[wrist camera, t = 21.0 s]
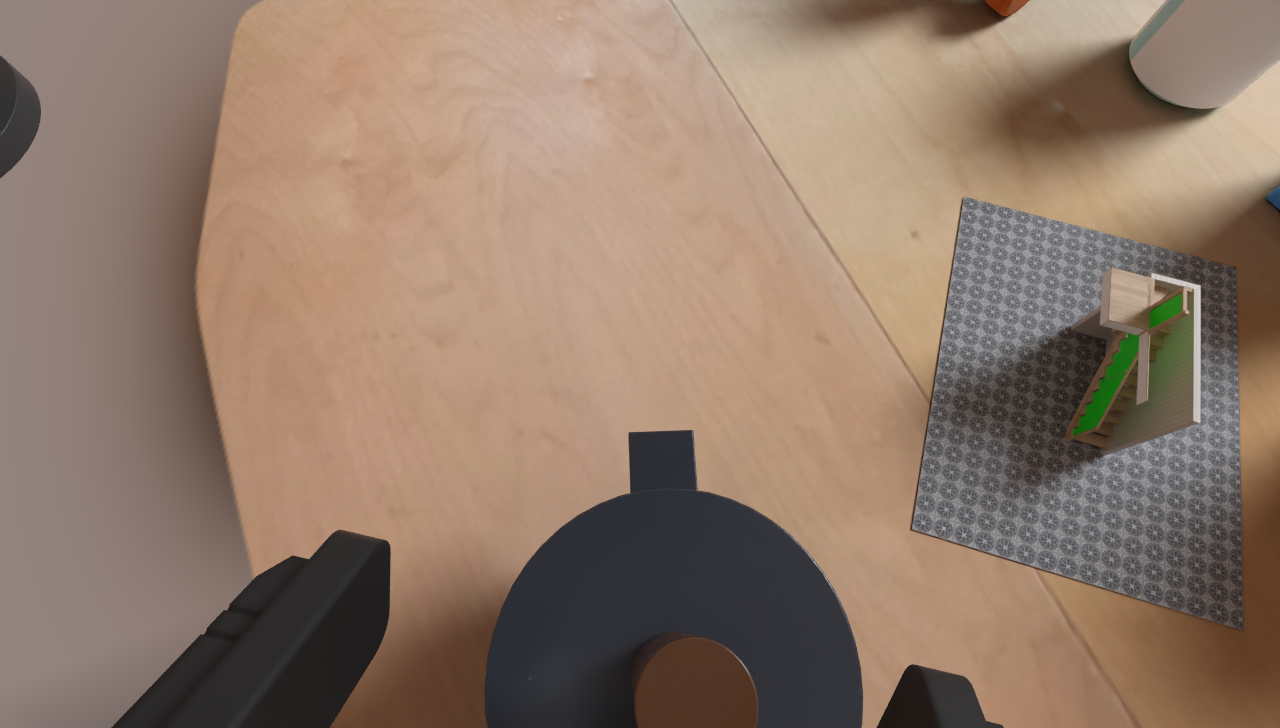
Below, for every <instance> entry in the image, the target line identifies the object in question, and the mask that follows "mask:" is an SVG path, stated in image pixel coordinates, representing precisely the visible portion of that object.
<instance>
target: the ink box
mask: <svg viewBox="0 0 1280 728" xmlns="http://www.w3.org/2000/svg"><path fill="white" fill-rule="evenodd" d="M1266 198H1267V200H1268V201H1270V202H1271V203H1272V204H1273V205H1274V206H1275V207H1276V208H1278V209H1279V210H1280V185H1279V186H1278V187H1276V188H1275V189H1274V190H1272V191H1271V192H1270V193H1268V194H1267V195H1266Z"/></svg>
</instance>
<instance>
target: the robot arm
mask: <svg viewBox="0 0 1280 728" xmlns="http://www.w3.org/2000/svg"><path fill="white" fill-rule="evenodd" d="M389 607H390V545H389V542H388V541H386V540H382V539H378V538H374V537H369V536H365V535H361V534H357V533H353V532H348V531H344V530H338V531H335V532H334V533H333V534H332V535H331V536H330V537H329V538H328V539H327V540H326V541H325V542H324V543H323V544H322V546H321V547H320V548H319V549H318V550H317V551H316V552H315V553H314V555H313V556H312V557H311V558H310V559H305V558H301V557H296V556H291V557H289V558H288V559H286V560H284V561H282V562H281V563H279V564H277V565H275V566H274V567H272V568H270V569H268V570H267V571H265V572H263V573H262V574H260V575H258V576H256V577H255V579H254V580H253V581H252V582H251V583H250V584H249V585H248V586H247V587H246V588H245V589H244V590H243V591H242V592H241V593H240V594H239V595H238V596H237V597H236V598H235V599H234V601H232V603H231V604H230V606H229V608H228V610H227V611H226V610H224V611H223V612H222V613H221V614H220V615H219V616H218V617H217V618H216V619H215V620H214V621H213V622H212V623H211V624H210V625H209V627H208V628H207V631H206V633H205V634H204V635H200V636H199V637H198V638H197V639H196V640H195V641H194V642H193V643H192V644H191V646H189V647H188V648H187V649H186V651H185V652H184V653H183V654H182V655H181V656H180V657H179V658H178V659H177V660H176V661H175V662H174V663H173V664H172V665H171V666H170V667H169V668H168V669H167V670H166V671H165V672H164V673H163V674H162V675H161V677H160V678H159V679H158V680H157V681H156V682H155V683H154V684H153V685H152V686H151V687H150V688H149V689H148V690H147V691H146V692H145V693H144V694H143V695H142V696H141V697H140V698H139V699H138V700H137V702H136V703H135V704H134V705H133V706H132V707H131V708H130V709H129V710H128V711H127V712H126V713H125V714H124V715H123V716H122V717H121V718H120V719H119V720H118V721H117V722H116V723H115V724H114V726H113V727H112V728H330V726H331V725H332V723H333V721H334V720H335V718H336V717H337V715H338V713H339V712H340V710H341V709H342V707H343V705H344V704H345V702H346V701H347V699H348V697H349V696H350V694H351V693H352V691H353V689H354V688H355V686H356V685H357V683H358V681H359V680H360V678H361V677H362V675H363V673H364V672H365V670H366V669H367V667H368V665H369V664H370V662H371V661H372V659H373V658H374V656H375V654H376V652H377V650H378V648H379V646H380V644H381V642H382V639H383V637H384V634H385V631H386V627H387V623H388V619H389ZM877 728H1004V727H1003V726H1002V725H1000V724H996V723H992V722H987V721H986V720H985V718H984V715H983V713H982V710H981V707H980V705H979V702H978V699H977V697H976V694H975V691H974V689H973V687H972V685H971V683H970V681H969V680H968V679H967V678H965V677H964V676H960V675H956V674H952V673H947V672H943V671H939V670H935V669H931V668H926V667H922V666H918V665H913V664H912V665H910V666H908V667H907V668H906V670H905V671H904V673H903V675H902V677H901V679H900V681H899V683H898V685H897V687H896V689H895V692H894V694H893V696H892V698H891V700H890V702H889V704H888V706H887V708H886V710H885V712H884V714H883V716H882V718H881V720H880V722H879V724H878V726H877Z"/></svg>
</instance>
